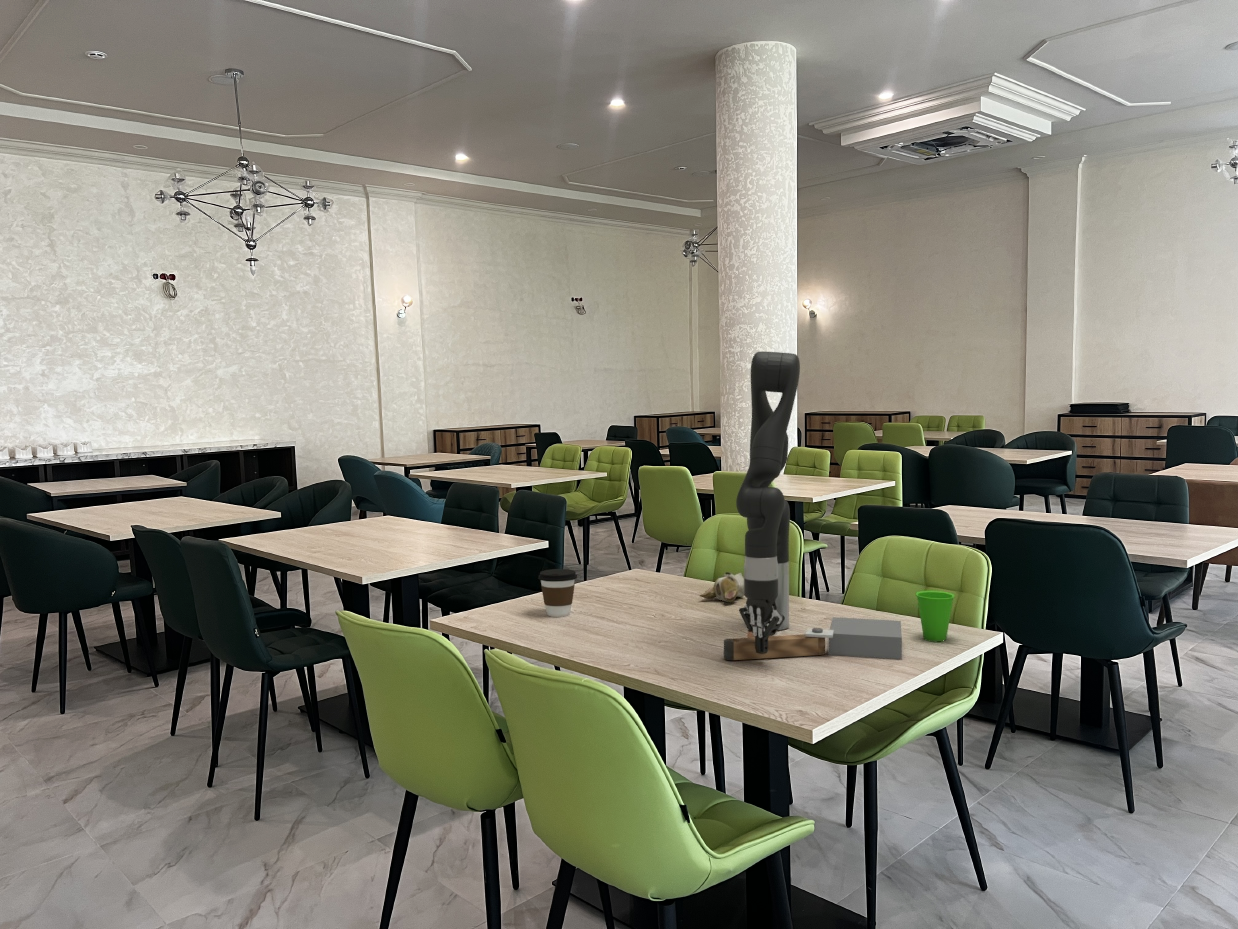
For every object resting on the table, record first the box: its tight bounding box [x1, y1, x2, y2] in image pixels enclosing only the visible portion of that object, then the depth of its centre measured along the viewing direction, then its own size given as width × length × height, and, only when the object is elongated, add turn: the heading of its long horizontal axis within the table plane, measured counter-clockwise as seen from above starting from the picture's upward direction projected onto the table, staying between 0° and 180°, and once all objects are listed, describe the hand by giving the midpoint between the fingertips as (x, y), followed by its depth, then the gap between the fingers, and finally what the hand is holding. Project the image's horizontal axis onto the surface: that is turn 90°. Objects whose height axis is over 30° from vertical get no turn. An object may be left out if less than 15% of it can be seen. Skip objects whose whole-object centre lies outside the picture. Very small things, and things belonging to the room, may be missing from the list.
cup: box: [915, 590, 956, 642], centre depth 215 cm, size 9×9×11 cm
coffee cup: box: [537, 568, 578, 618], centre depth 246 cm, size 11×11×12 cm
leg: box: [723, 633, 826, 661], centre depth 202 cm, size 24×4×4 cm, turn 99°
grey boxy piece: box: [746, 616, 903, 660], centre depth 210 cm, size 18×35×6 cm, turn 73°
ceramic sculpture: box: [699, 571, 745, 603], centre depth 262 cm, size 11×9×15 cm
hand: (761, 653), depth 198 cm, fingers closed
